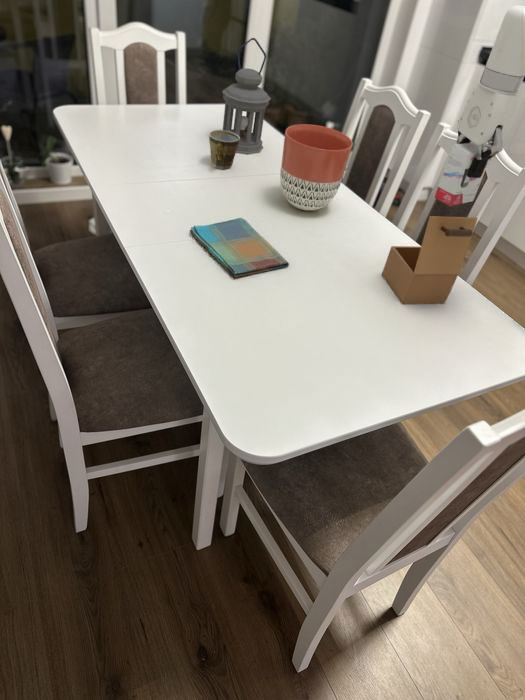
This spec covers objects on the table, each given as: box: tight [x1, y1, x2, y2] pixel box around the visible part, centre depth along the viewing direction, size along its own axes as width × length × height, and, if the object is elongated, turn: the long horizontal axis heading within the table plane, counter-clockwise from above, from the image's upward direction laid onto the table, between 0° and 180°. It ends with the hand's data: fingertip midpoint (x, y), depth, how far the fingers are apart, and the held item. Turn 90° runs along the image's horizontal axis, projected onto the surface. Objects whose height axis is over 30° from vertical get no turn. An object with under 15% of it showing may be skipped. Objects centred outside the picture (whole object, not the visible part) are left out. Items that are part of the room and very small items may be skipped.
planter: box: [279, 123, 354, 212], centre depth 160 cm, size 20×20×21 cm
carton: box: [381, 245, 459, 305], centre depth 137 cm, size 13×12×9 cm
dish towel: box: [189, 217, 290, 278], centre depth 141 cm, size 17×23×2 cm
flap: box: [414, 215, 478, 275], centre depth 124 cm, size 14×12×4 cm
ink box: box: [434, 142, 491, 207], centre depth 117 cm, size 9×5×12 cm, turn 124°
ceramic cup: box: [208, 129, 240, 171], centre depth 177 cm, size 13×10×10 cm
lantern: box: [221, 37, 272, 155], centre depth 186 cm, size 17×17×35 cm
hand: (465, 169), depth 117 cm, fingers closed on ink box, 6 cm apart
